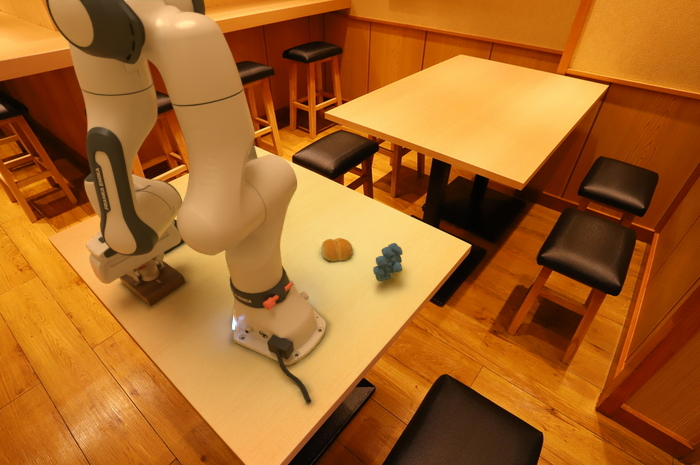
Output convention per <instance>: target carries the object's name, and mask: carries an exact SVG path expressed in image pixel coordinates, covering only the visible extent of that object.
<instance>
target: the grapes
mask: <svg viewBox="0 0 700 465" xmlns="http://www.w3.org/2000/svg"><path fill="white" fill-rule="evenodd" d="M402 255H403V248H401V246H399V245H398V244H397V243H396V242H392V243H390V244H388V246H385V247H383V248H382V249H381V255H378V256H377V257H375V264H376V265H375V266H373V268H372V271H373V275H374V276H375V280H376V281H377V282H384V281H389V280H392V274H396V273H400V272H402V271H403V265H402V262H403V260H402Z"/></svg>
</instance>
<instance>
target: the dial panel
mask: <svg viewBox="0 0 700 465" xmlns="http://www.w3.org/2000/svg"><path fill="white" fill-rule="evenodd" d="M156 257H157V256H156ZM156 257H155V258H153V259H151V260H154V261H155V260H156ZM162 262H163V265H164V266H163V267H161V268H159V269H158V270H159V272H160V274H159V276H158V277H157V278H156V279H154V280H152V281H143V280H142V279H141V280H139V281H138V282H137V281H135V280H134V278H133V277H131V276H129V275H127V274H125V275H123V276H121V277H120V278H119V280H120V282H121V283H122V285H124V286H125V287H126V288H128V290H129V291H130V292H132V293H133V294H134V295H136V296H137V297H138V298H139V299H140V300H142V301H143V302H144V303H146V304H147V305H148V306H149V307H150V308H151V307H153V306H154V305H156V304H157V303H158V302H160V301H161V300H163V299H165V297H168V296H169V295H170V294H171V293H173V292H175V291H176V290H178V289H179V288H181V287H182V286H184V285H185V284H186V280H185V278H184V275H183V273H181V272H179V270H176V269H175V268H174V267H172V266H171V265H169V264H168V263H167V262H166V261H164V260H163V261H162ZM133 271H134V272H136V271H137V269H136V268H135V269H134V270H133ZM137 272H138V271H137Z"/></svg>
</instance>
